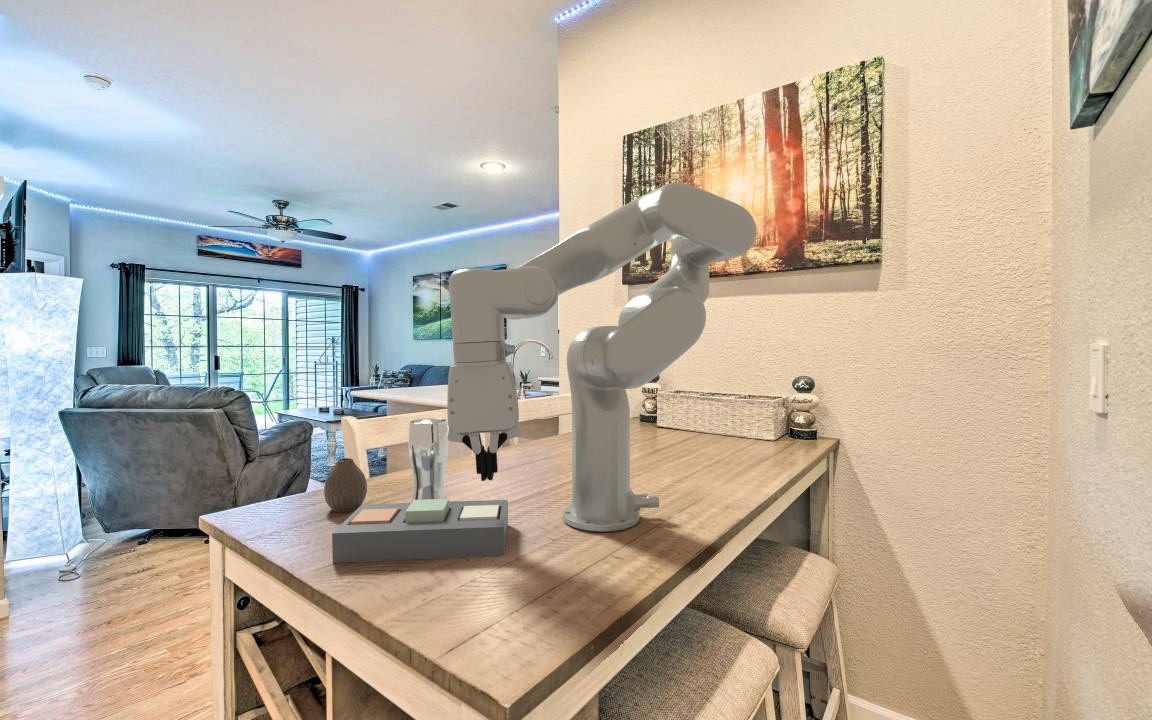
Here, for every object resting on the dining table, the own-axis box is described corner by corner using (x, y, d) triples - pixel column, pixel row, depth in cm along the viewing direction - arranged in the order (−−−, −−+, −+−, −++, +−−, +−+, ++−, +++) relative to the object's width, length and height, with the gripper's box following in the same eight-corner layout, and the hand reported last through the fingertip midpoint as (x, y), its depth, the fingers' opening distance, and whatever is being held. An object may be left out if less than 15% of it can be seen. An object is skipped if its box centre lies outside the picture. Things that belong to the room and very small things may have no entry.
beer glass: (421, 495, 97) (420, 417, 97) (455, 497, 96) (454, 418, 95) (401, 507, 90) (400, 423, 90) (438, 509, 89) (437, 424, 88)
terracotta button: (398, 534, 77) (398, 508, 76) (389, 548, 71) (388, 520, 71) (363, 535, 76) (362, 509, 76) (351, 550, 71) (350, 521, 71)
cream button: (499, 530, 78) (498, 504, 78) (497, 544, 73) (496, 516, 73) (464, 532, 78) (464, 506, 77) (460, 545, 72) (459, 517, 72)
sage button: (449, 524, 77) (448, 498, 77) (443, 537, 72) (443, 509, 72) (414, 526, 77) (413, 499, 77) (405, 539, 72) (405, 511, 71)
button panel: (507, 524, 81) (507, 499, 81) (504, 555, 70) (504, 526, 69) (362, 529, 79) (361, 504, 79) (332, 563, 67) (332, 533, 67)
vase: (351, 516, 86) (350, 464, 85) (315, 513, 87) (314, 463, 87) (375, 503, 92) (374, 455, 92) (341, 501, 94) (340, 454, 94)
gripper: (531, 351, 79) (537, 467, 80) (432, 356, 77) (440, 475, 78) (531, 352, 71) (538, 481, 72) (422, 358, 70) (431, 489, 71)
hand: (487, 477), depth 75 cm, fingers closed
